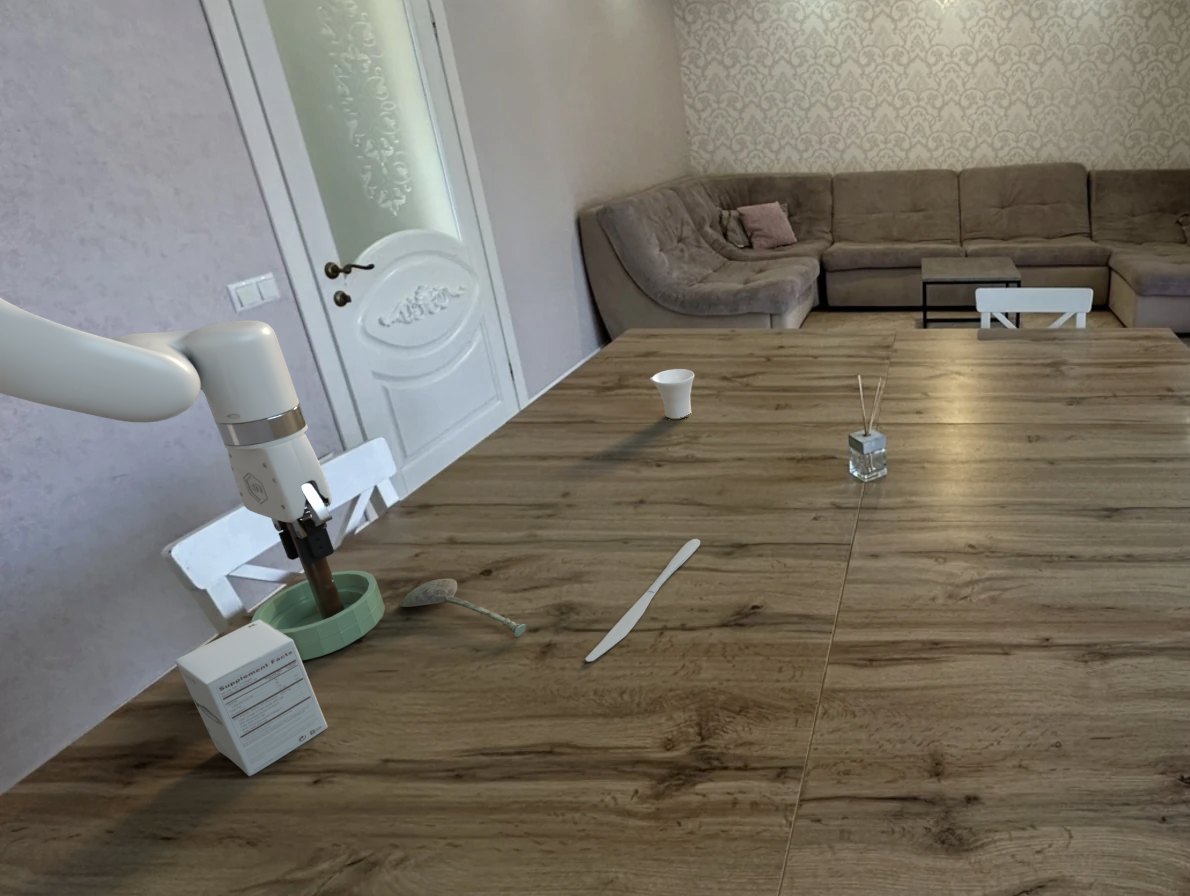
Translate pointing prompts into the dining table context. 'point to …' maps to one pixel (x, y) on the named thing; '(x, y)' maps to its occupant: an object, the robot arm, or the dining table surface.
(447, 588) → the soupspoon
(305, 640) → the bowl
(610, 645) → the butter knife
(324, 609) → the stirring stick
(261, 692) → the white packaging box
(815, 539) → the dining table surface
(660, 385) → the cup
